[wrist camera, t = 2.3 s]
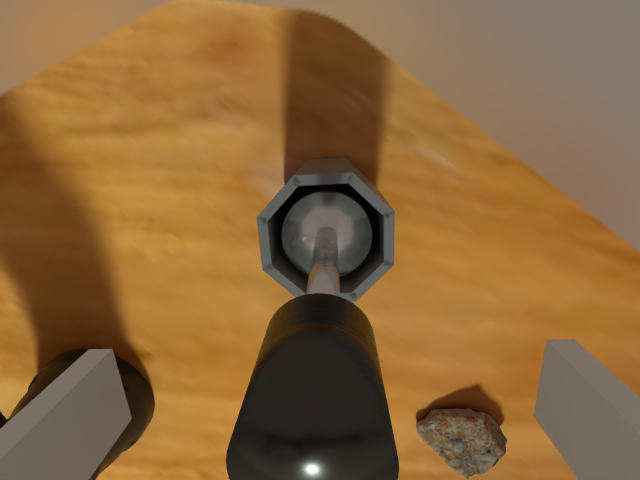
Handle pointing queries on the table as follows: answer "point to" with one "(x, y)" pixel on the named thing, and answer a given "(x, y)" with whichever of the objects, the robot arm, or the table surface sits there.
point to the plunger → (317, 364)
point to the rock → (463, 439)
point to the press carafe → (341, 179)
